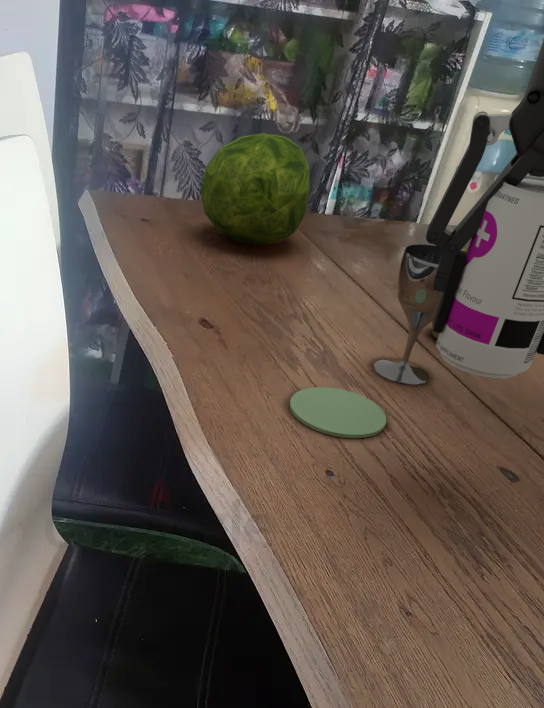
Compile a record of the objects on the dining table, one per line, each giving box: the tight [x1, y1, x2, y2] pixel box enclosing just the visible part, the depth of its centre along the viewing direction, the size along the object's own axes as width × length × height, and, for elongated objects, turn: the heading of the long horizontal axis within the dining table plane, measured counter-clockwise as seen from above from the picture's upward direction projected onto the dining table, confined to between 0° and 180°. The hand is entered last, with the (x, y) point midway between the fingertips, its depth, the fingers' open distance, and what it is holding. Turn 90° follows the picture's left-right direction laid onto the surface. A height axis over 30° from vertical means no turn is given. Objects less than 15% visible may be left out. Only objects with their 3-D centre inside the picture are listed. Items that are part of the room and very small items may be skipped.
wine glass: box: [373, 244, 444, 385], centre depth 91 cm, size 8×8×15 cm
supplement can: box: [435, 175, 544, 379], centre depth 62 cm, size 8×8×15 cm
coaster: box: [289, 386, 387, 439], centre depth 84 cm, size 11×11×1 cm
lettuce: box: [199, 132, 311, 246], centre depth 131 cm, size 19×23×18 cm
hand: (488, 337), depth 66 cm, fingers closed on supplement can, 8 cm apart
